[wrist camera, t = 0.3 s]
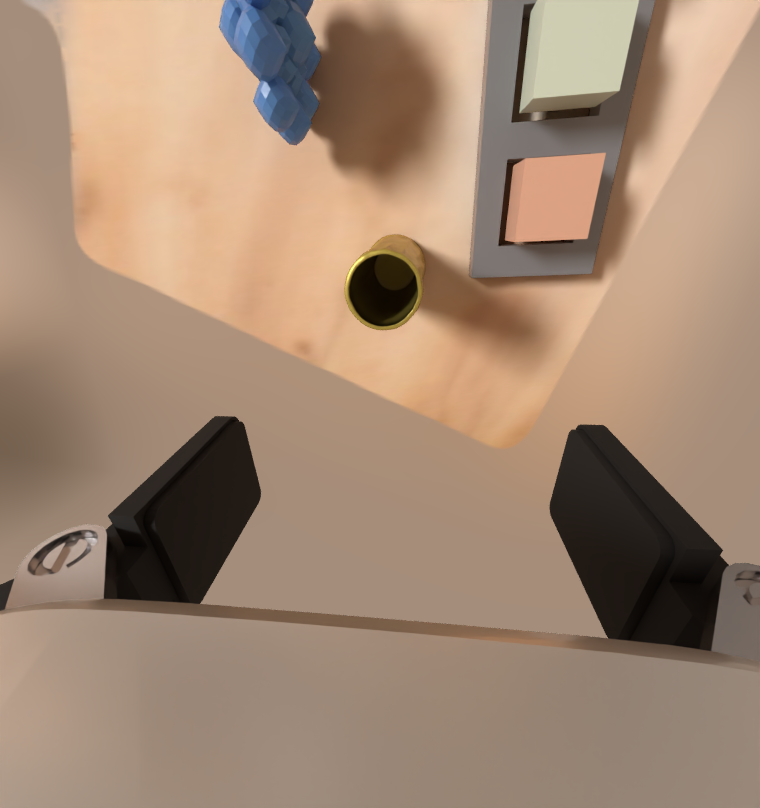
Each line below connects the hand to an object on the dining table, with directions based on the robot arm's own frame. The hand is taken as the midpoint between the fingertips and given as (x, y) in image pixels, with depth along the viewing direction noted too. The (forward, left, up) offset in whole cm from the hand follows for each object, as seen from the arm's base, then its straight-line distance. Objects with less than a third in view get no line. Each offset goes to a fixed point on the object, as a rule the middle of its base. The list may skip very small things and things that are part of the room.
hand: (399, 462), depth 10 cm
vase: (-2, -2, -30) cm, 30 cm away
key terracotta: (-7, +11, -27) cm, 30 cm away
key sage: (-16, +11, -27) cm, 34 cm away
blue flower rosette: (-18, -10, -30) cm, 36 cm away
